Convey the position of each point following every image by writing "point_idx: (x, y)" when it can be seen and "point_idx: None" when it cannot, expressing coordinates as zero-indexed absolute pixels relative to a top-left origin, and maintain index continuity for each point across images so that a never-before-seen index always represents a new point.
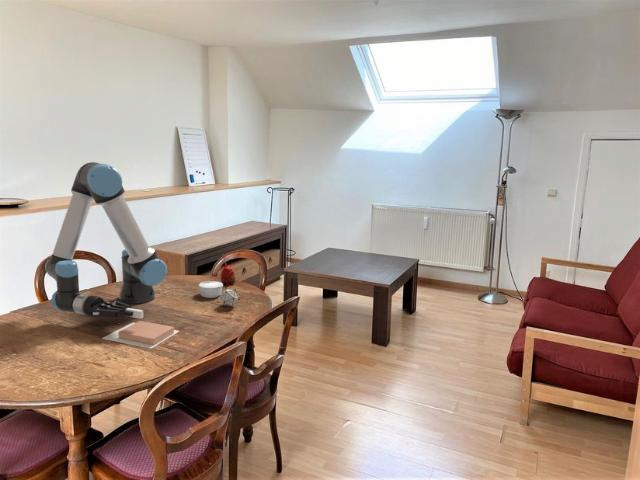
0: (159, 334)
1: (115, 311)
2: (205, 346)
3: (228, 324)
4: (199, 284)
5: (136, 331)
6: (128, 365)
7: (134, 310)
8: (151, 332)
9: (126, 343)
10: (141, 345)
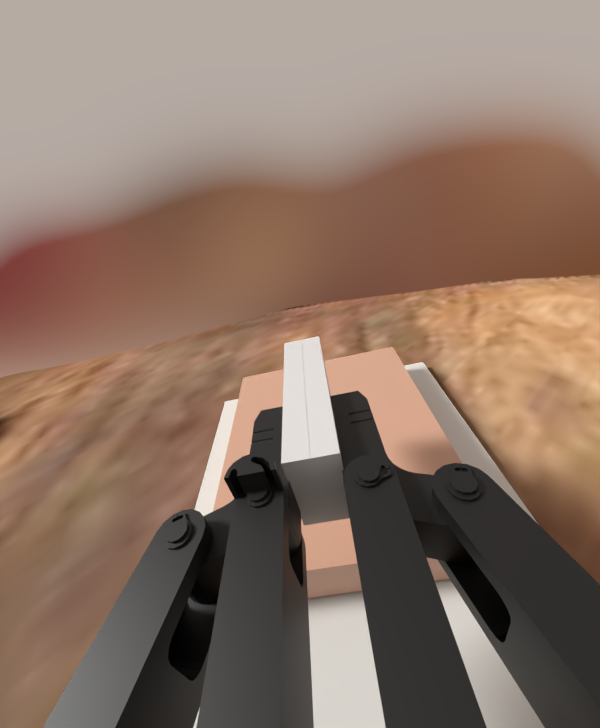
0: (341, 362)
1: (519, 506)
2: (300, 320)
3: (135, 365)
4: None
5: (385, 446)
6: (574, 335)
7: (321, 371)
8: (343, 390)
9: (491, 458)
10: (435, 397)
